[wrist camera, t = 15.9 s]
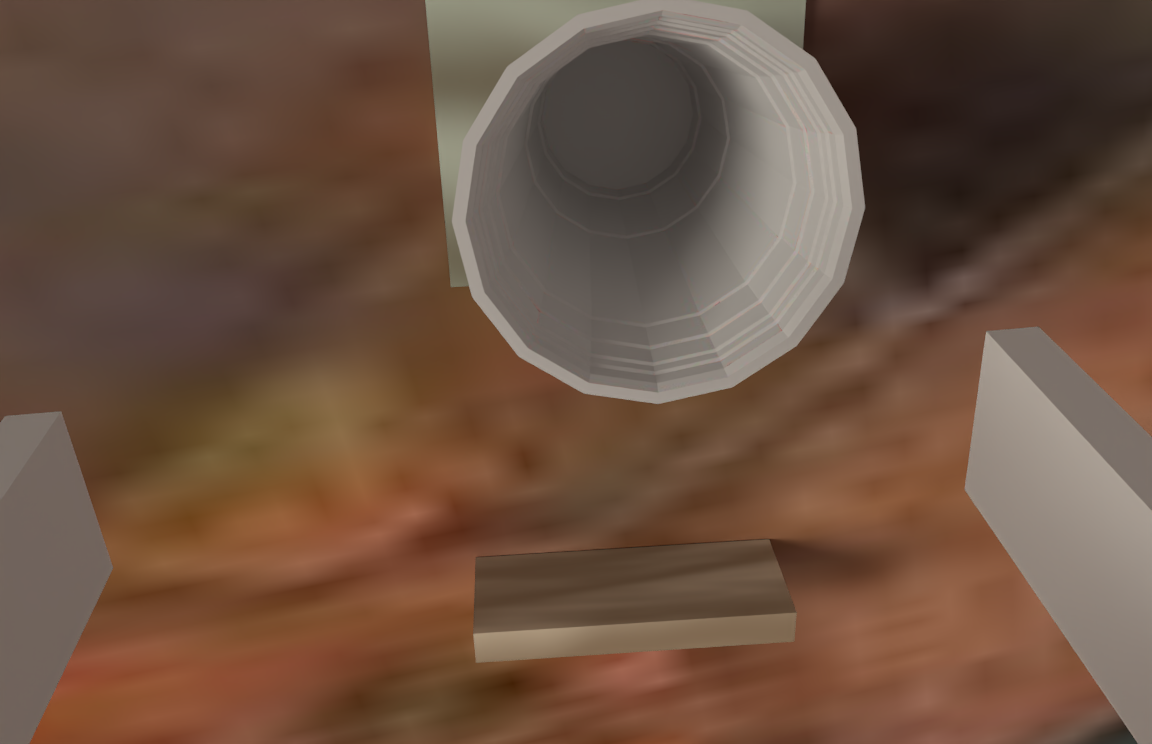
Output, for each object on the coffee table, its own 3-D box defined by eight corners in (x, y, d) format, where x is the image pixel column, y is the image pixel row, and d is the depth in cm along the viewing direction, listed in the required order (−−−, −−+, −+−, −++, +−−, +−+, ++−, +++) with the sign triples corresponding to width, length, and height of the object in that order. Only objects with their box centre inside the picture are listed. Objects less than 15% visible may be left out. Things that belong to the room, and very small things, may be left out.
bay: (411, -168, 35) (398, -166, 30) (814, -182, 35) (860, -182, 31) (478, 584, 48) (476, 662, 44) (767, 566, 49) (794, 641, 44)
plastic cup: (779, -58, 36) (895, -5, 26) (758, 246, 41) (849, 396, 31) (454, -51, 36) (435, 5, 25) (473, 256, 41) (463, 411, 30)
